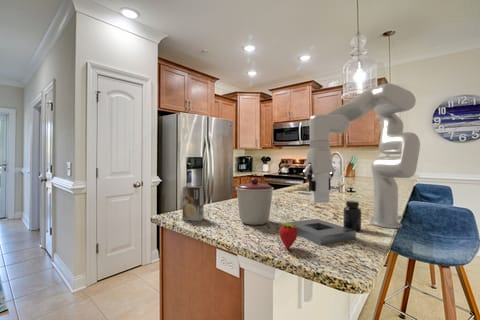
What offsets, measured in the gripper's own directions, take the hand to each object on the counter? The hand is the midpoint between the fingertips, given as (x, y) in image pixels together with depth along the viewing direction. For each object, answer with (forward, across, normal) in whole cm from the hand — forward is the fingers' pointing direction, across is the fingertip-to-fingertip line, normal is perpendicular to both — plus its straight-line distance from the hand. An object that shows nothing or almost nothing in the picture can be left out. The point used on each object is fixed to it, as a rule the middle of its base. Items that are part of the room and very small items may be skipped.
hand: (319, 189), depth 93 cm
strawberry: (+17, +22, +8) cm, 29 cm away
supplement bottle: (+18, -17, +1) cm, 25 cm away
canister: (+17, +16, -26) cm, 35 cm away
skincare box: (+5, 0, 0) cm, 5 cm away
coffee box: (+17, +41, -43) cm, 62 cm away
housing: (+18, +1, 0) cm, 18 cm away
